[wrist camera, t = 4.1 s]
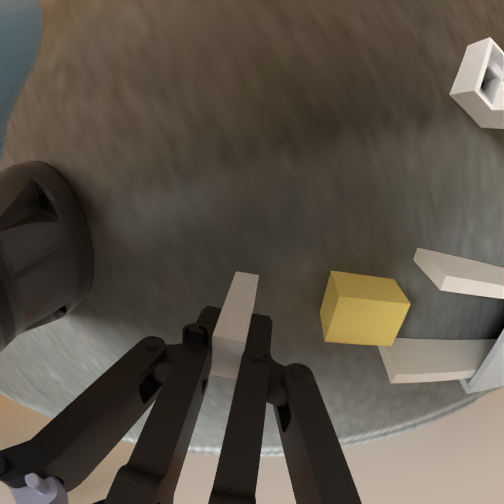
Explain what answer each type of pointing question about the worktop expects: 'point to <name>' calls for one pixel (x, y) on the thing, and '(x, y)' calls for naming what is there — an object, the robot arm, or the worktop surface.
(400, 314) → the mustard yellow cuboid
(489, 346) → the long white channel rail
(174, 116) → the worktop surface
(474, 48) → the white angled block
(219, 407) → the worktop surface
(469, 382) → the cover
